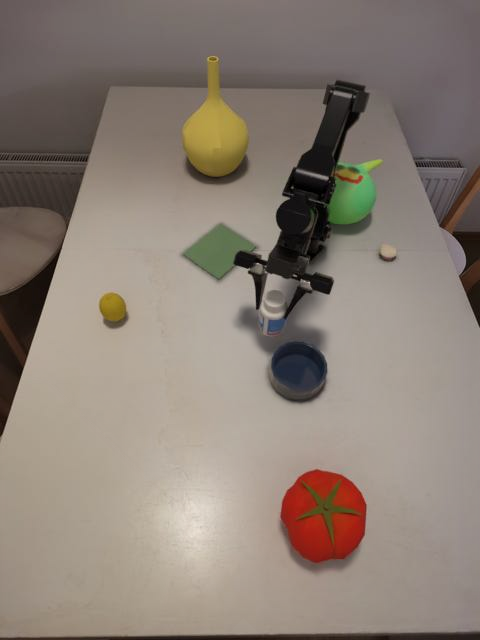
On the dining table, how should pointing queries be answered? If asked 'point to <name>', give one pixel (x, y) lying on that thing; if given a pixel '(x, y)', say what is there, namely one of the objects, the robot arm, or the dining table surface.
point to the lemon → (112, 306)
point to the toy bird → (353, 192)
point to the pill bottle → (272, 313)
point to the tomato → (324, 516)
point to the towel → (218, 251)
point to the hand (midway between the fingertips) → (271, 314)
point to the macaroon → (388, 252)
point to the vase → (215, 132)
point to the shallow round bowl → (298, 370)
